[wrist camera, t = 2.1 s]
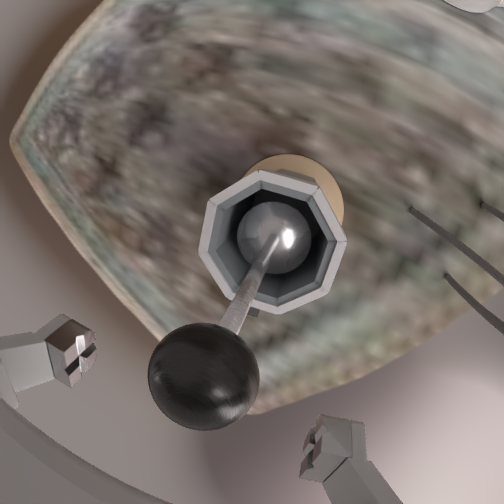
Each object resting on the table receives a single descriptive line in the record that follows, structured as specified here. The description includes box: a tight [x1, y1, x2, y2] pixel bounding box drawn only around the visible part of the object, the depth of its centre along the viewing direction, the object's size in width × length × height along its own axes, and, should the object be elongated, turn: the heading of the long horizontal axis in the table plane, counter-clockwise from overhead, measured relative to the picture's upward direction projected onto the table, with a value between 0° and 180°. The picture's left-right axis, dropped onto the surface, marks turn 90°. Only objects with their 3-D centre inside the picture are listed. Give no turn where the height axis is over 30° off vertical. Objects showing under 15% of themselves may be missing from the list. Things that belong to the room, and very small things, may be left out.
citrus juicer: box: [410, 203, 504, 335], centre depth 19 cm, size 11×10×30 cm
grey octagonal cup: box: [198, 154, 347, 317], centre depth 29 cm, size 14×13×14 cm
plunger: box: [148, 201, 311, 431], centre depth 17 cm, size 6×6×19 cm
